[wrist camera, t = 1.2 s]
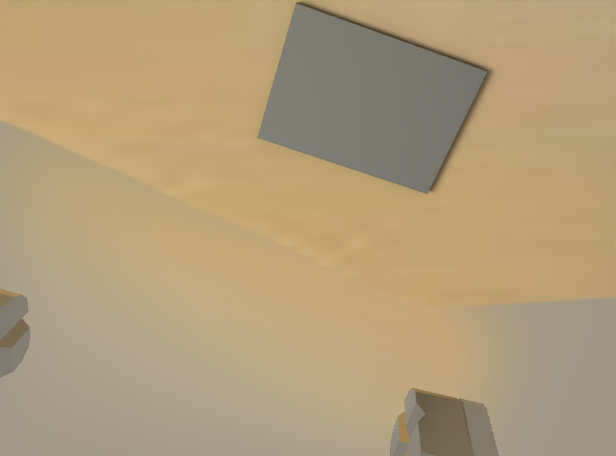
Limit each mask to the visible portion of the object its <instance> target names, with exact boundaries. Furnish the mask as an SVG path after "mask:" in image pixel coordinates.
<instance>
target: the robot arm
mask: <svg viewBox="0 0 616 456" xmlns="http://www.w3.org/2000/svg"><path fill="white" fill-rule="evenodd" d="M27 312H28V303H27V298H26V297H24V296H23V295H20V294H16V293H13V292H9V291H5V290H1V289H0V377H2V376H4V375H7V374H9V373H11V372H13V371H14V370H15V369H16V367H17V366H18V365H19V364H20V363H21V361H22V359H23V357H24V355H25V353H26V351H27V349H28V345H29V340H30V328H29V326H28V325H27V324H26V322H25V321H24V320H23V318H22V317H23V316H24V315H25V314H26V313H27ZM390 456H499V455H498V451H497V447H496V443H495V439H494V435H493V432H492V427H491V424H490V420H489V416H488V412H487V408H486V407H485V405H484V404H482V403H477V402H473V401H469V400H464V399H457V398H454V397H450V396H446V395H441V394H437V393H432V392H428V391H423V390H419V389H415V388H411V389H410V391H409V392H408V394H407V396H406V398H405V412H404V413H402V414H400V415H399V416H398V417H397V420H396V423H395V425H394V429H393V434H392V438H391V447H390Z"/></svg>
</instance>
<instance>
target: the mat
mask: <svg viewBox="0 0 616 456" xmlns="http://www.w3.org/2000/svg"><path fill="white" fill-rule="evenodd" d="M486 73H487V71H486V70H484V69H482V68H479V67H476V66H473V65H470V64H468V63H465V62H462V61H459V60H456V59H454V58H451V57H448V56H445V55H442V54H440V53H437V52H434V51H431V50H428V49H426V48H423V47H420V46H417V45H414V44H412V43H409V42H406V41H403V40H401V39H398V38H395V37H392V36H389V35H387V34H384V33H381V32H378V31H375V30H373V29H370V28H367V27H364V26H361V25H359V24H356V23H353V22H350V21H347V20H345V19H342V18H339V17H336V16H333V15H331V14H328V13H325V12H322V11H319V10H317V9H314V8H311V7H308V6H305V5H303V4H300V3H296V6H295V9H294V12H293V16H292V19H291V23H290V26H289V30H288V33H287V37H286V40H285V44H284V47H283V51H282V54H281V58H280V61H279V65H278V68H277V72H276V75H275V79H274V82H273V86H272V89H271V93H270V96H269V100H268V103H267V107H266V110H265V114H264V117H263V121H262V124H261V128H260V131H259V135H258V138H260V139H263V140H266V141H269V142H272V143H275V144H278V145H281V146H284V147H287V148H290V149H293V150H296V151H299V152H302V153H305V154H308V155H311V156H314V157H317V158H320V159H323V160H326V161H329V162H332V163H335V164H338V165H341V166H344V167H347V168H350V169H354V170H357V171H360V172H363V173H366V174H369V175H372V176H375V177H378V178H381V179H384V180H387V181H390V182H393V183H396V184H399V185H402V186H405V187H408V188H411V189H414V190H417V191H420V192H423V193H426V194H428V192H429V190H430V188H431V186H432V184H433V182H434V179H435V177H436V175H437V173H438V171H439V169H440V167H441V165H442V163H443V161H444V159H445V157H446V155H447V153H448V151H449V149H450V147H451V145H452V143H453V141H454V139H455V137H456V135H457V133H458V131H459V128H460V126H461V124H462V122H463V120H464V118H465V116H466V114H467V112H468V110H469V108H470V106H471V104H472V102H473V100H474V98H475V96H476V94H477V92H478V90H479V88H480V86H481V84H482V82H483V79H484V77H485V75H486Z"/></svg>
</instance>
